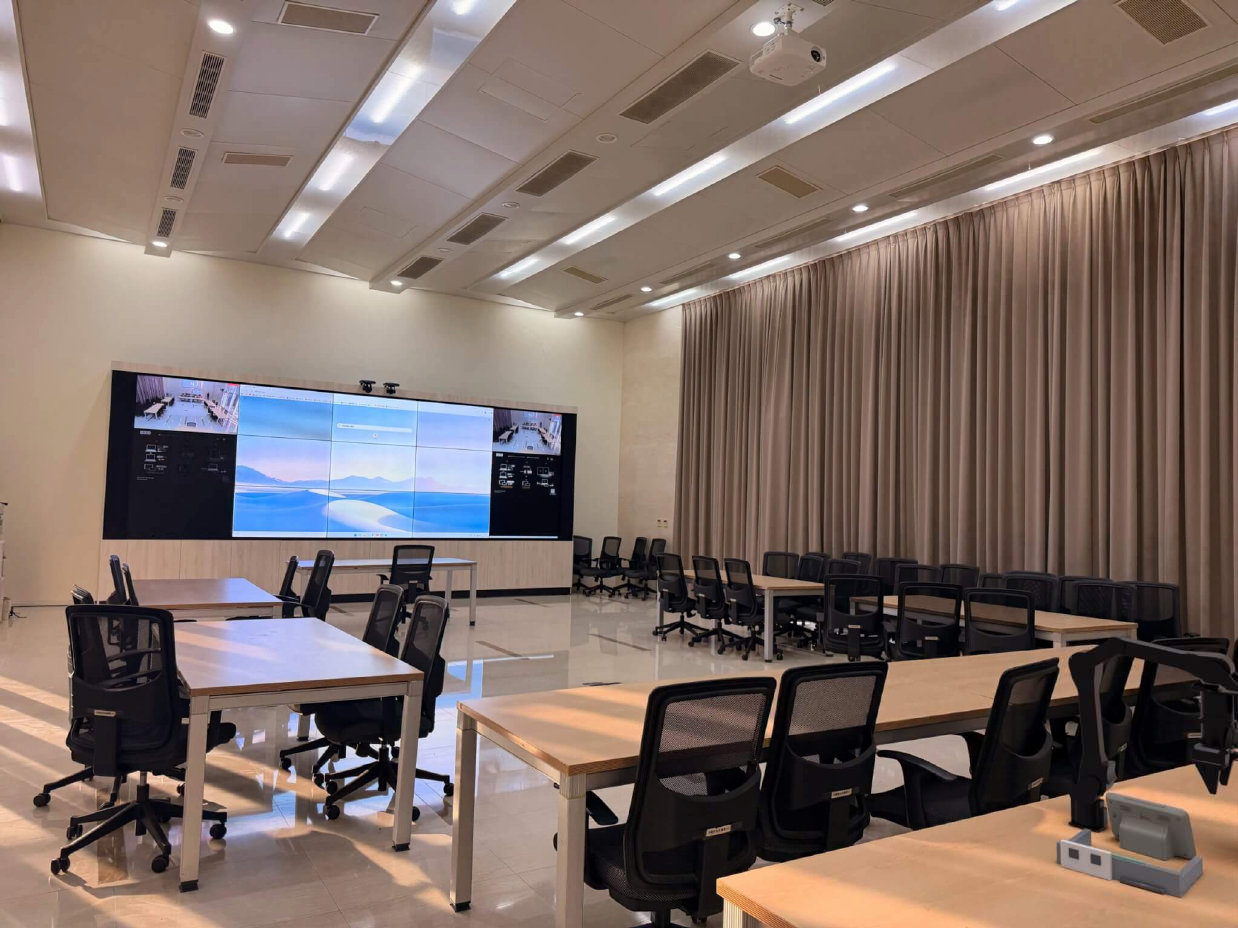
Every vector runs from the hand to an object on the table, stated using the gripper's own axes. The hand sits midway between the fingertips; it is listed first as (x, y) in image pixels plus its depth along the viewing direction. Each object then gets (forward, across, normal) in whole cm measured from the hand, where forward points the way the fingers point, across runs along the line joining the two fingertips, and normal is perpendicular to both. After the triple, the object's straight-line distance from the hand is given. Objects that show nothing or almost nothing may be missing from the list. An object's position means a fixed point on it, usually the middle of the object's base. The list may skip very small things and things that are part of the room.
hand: (1218, 789), depth 176 cm
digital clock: (+14, -7, +11) cm, 19 cm away
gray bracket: (+14, -22, +11) cm, 28 cm away
